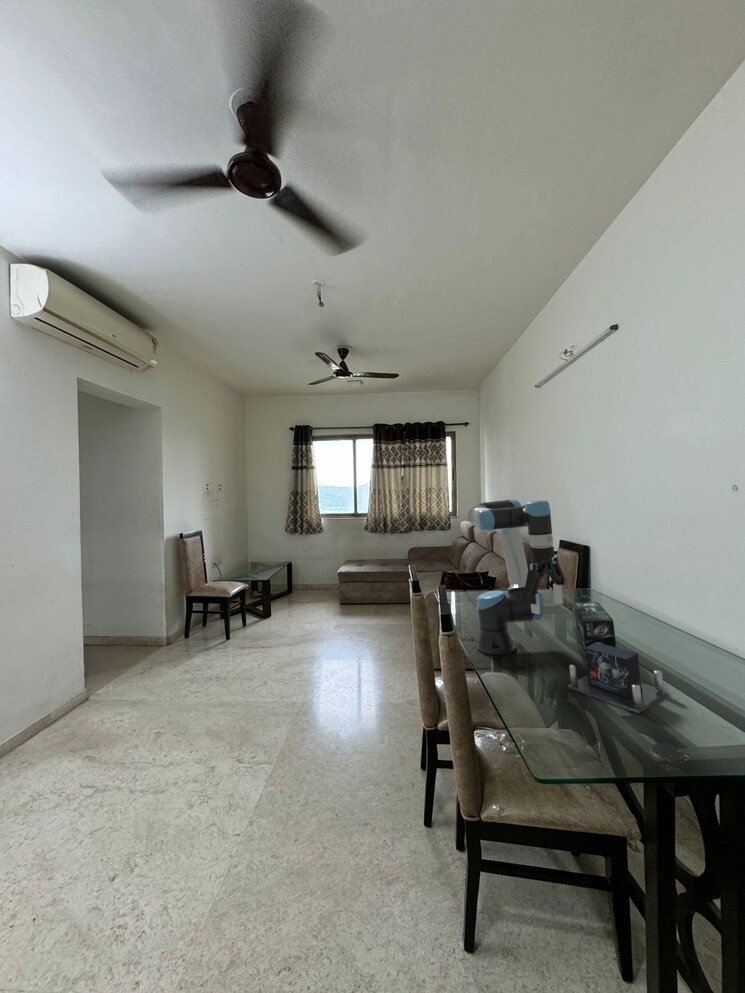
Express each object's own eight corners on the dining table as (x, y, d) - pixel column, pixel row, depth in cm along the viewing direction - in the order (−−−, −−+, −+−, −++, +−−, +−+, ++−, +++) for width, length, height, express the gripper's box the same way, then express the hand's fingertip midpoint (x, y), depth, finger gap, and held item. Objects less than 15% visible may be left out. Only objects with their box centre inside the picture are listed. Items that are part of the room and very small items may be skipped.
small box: (588, 684, 128) (583, 647, 128) (599, 678, 132) (595, 641, 132) (631, 699, 117) (627, 658, 117) (643, 691, 120) (638, 652, 121)
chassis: (568, 688, 129) (566, 666, 129) (597, 672, 138) (595, 652, 138) (638, 714, 111) (635, 689, 111) (667, 693, 120) (664, 670, 120)
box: (620, 675, 135) (614, 619, 135) (588, 674, 138) (581, 619, 138) (604, 649, 157) (598, 601, 157) (576, 649, 160) (570, 602, 160)
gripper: (529, 553, 125) (535, 620, 125) (572, 540, 139) (578, 601, 139) (509, 551, 131) (515, 615, 131) (552, 540, 145) (558, 597, 145)
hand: (547, 608), depth 135 cm, fingers open, 13 cm apart
